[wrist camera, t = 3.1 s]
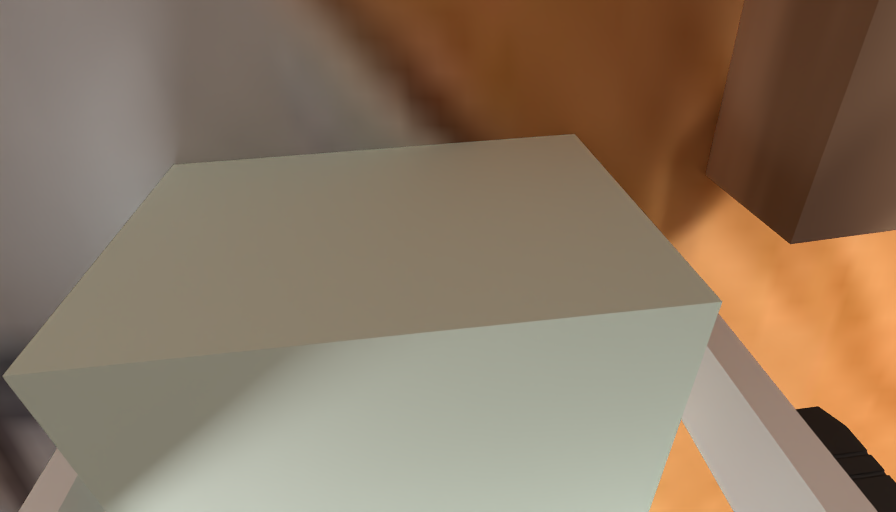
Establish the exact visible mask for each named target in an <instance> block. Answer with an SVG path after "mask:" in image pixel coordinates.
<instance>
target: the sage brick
mask: <svg viewBox="0 0 896 512" xmlns="http://www.w3.org/2000/svg"><path fill="white" fill-rule="evenodd" d="M721 304H722V301H721V300H720V299H719V297H718V296H717V295H716V294H715V293H714V292H713V291H712V290H711V288H710V287H709V286H708V285H707V284H706V283H705V282H704V280H703V279H702V278H701V277H700V276H699V275H698V274H697V272H696V271H695V270H694V269H693V268H692V267H691V266H690V265H689V263H688V262H687V261H686V260H685V259H684V258H683V257H682V255H681V254H680V253H679V252H678V251H677V250H676V249H675V247H674V246H673V245H672V244H671V243H670V242H669V241H668V239H667V238H666V237H665V236H664V235H663V234H662V233H661V232H660V230H659V229H658V228H657V227H656V226H655V225H654V224H653V222H652V221H651V220H650V219H649V218H648V217H647V216H646V214H645V213H644V212H643V211H642V210H641V209H640V208H639V207H638V205H637V204H636V203H635V202H634V201H633V200H632V199H631V197H630V196H629V195H628V194H627V193H626V192H625V191H624V189H623V188H622V187H621V186H620V185H619V184H618V183H617V182H616V180H615V179H614V178H613V177H612V176H611V175H610V174H609V172H608V171H607V170H606V169H605V168H604V167H603V166H602V164H601V163H600V162H599V161H598V160H597V159H596V158H595V157H594V155H593V154H592V153H591V152H590V151H589V150H588V149H587V147H586V146H585V145H584V144H583V143H582V142H581V141H580V139H579V138H578V137H577V136H576V135H575V134H565V135H552V136H539V137H526V138H513V139H500V140H487V141H474V142H461V143H448V144H435V145H421V146H408V147H395V148H382V149H369V150H356V151H343V152H330V153H317V154H304V155H291V156H278V157H265V158H252V159H239V160H225V161H212V162H199V163H186V164H173V166H172V167H171V168H170V169H169V171H168V172H167V173H166V174H165V175H164V177H163V178H162V179H161V180H160V182H159V183H158V184H157V185H156V187H155V188H154V189H153V190H152V192H151V193H150V194H149V195H148V196H147V198H146V199H145V200H144V201H143V203H142V204H141V205H140V206H139V208H138V209H137V210H136V211H135V213H134V214H133V215H132V216H131V218H130V219H129V220H128V221H127V222H126V224H125V225H124V226H123V227H122V229H121V230H120V231H119V232H118V234H117V235H116V236H115V237H114V239H113V240H112V241H111V242H110V243H109V245H108V246H107V247H106V248H105V250H104V251H103V252H102V253H101V255H100V256H99V257H98V258H97V260H96V261H95V262H94V263H93V264H92V266H91V267H90V268H89V269H88V271H87V272H86V273H85V274H84V276H83V277H82V278H81V279H80V281H79V282H78V283H77V284H76V286H75V287H74V288H73V289H72V290H71V292H70V293H69V294H68V295H67V297H66V298H65V299H64V300H63V302H62V303H61V304H60V305H59V307H58V308H57V309H56V310H55V311H54V313H53V314H52V315H51V316H50V318H49V319H48V320H47V321H46V323H45V324H44V325H43V326H42V328H41V329H40V330H39V331H38V333H37V334H36V335H35V336H34V337H33V339H32V340H31V341H30V342H29V344H28V345H27V346H26V347H25V349H24V350H23V351H22V352H21V354H20V355H19V356H18V357H17V358H16V360H15V361H14V362H13V363H12V365H11V366H10V367H9V368H8V370H7V371H6V372H5V373H4V375H3V376H2V377H3V378H4V379H5V381H6V382H7V383H8V385H9V386H10V387H11V389H12V390H13V391H14V392H15V394H16V395H17V396H18V398H19V399H20V400H21V402H22V403H23V404H24V405H25V407H26V408H27V409H28V411H29V412H30V413H31V415H32V416H33V417H34V418H35V420H36V421H37V422H38V424H39V425H40V426H41V428H42V429H43V430H44V431H45V433H46V434H47V435H48V437H49V438H50V439H51V441H52V442H53V443H54V444H55V446H56V447H57V448H58V450H59V451H60V452H61V454H62V455H63V456H64V457H65V459H66V460H67V461H68V463H69V464H70V465H71V467H72V468H73V469H74V470H75V472H76V473H77V474H78V476H79V477H80V478H81V480H82V481H83V482H84V483H85V485H86V486H87V487H88V489H89V490H90V491H91V493H92V494H93V495H94V497H95V498H96V499H97V500H98V502H99V503H100V504H101V506H102V507H103V508H104V510H105V511H106V512H649V510H650V507H651V504H652V501H653V498H654V495H655V493H656V490H657V487H658V484H659V481H660V478H661V475H662V473H663V470H664V467H665V464H666V461H667V458H668V455H669V453H670V450H671V447H672V444H673V441H674V438H675V435H676V433H677V430H678V427H679V424H680V421H681V418H682V415H683V413H684V410H685V407H686V404H687V401H688V398H689V395H690V393H691V390H692V387H693V384H694V381H695V378H696V375H697V372H698V370H699V367H700V364H701V361H702V358H703V355H704V352H705V350H706V347H707V344H708V341H709V338H710V335H711V332H712V330H713V327H714V324H715V321H716V318H717V315H718V312H719V310H720V307H721Z"/></svg>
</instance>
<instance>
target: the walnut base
mask: <svg viewBox="0 0 896 512" xmlns="http://www.w3.org/2000/svg"><path fill="white" fill-rule="evenodd" d="M705 175H706V176H707V177H708V178H710V179H711V180H712V181H713V182H714V183H716V184H717V185H718V186H719V187H721V188H722V189H723V190H724V191H726V192H727V193H728V194H729V195H730V196H732V197H733V198H734V199H735V200H737V201H738V202H739V203H740V204H742V205H743V206H744V207H745V208H746V209H748V210H749V211H750V212H751V213H753V214H754V215H755V216H756V217H758V218H759V219H760V220H761V221H763V222H764V223H765V224H766V225H767V226H769V227H770V228H771V229H772V230H774V231H775V232H776V233H777V234H779V235H780V236H781V237H782V238H783V239H785V240H786V241H787V242H788V243H790V244H795V243H802V242H810V241H817V240H825V239H832V238H839V237H847V236H854V235H862V234H869V233H876V232H884V231H891V230H896V0H745V1H744V5H743V9H742V14H741V18H740V23H739V27H738V32H737V36H736V40H735V45H734V49H733V54H732V58H731V63H730V67H729V71H728V76H727V80H726V85H725V89H724V94H723V98H722V102H721V107H720V111H719V116H718V120H717V125H716V129H715V133H714V138H713V142H712V147H711V151H710V156H709V160H708V164H707V169H706V173H705Z"/></svg>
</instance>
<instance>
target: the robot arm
mask: <svg viewBox="0 0 896 512" xmlns="http://www.w3.org/2000/svg"><path fill="white" fill-rule="evenodd" d="M681 419H682V421H683V423H684V425H685V427H686V428H687V430H688V432H689V434H690V435H691V437H692V439H693V441H694V442H695V444H696V446H697V448H698V449H699V451H700V453H701V455H702V457H703V458H704V460H705V462H706V464H707V465H708V467H709V469H710V471H711V472H712V474H713V476H714V478H715V479H716V481H717V483H718V485H719V486H720V488H721V490H722V492H723V494H724V495H725V497H726V499H727V501H728V502H729V504H730V506H731V508H732V509H733V511H734V512H896V483H895V482H894V480H893V479H892V478H891V477H890V476H889V475H886V474H885V472H884V469H883V468H882V467H881V466H880V464H879V463H878V462H877V461H876V460H875V459H874V458H873V456H872V455H869V454H868V453H867V449H866V448H865V447H864V446H863V445H862V444H861V443H860V441H859V440H858V439H857V438H856V437H855V436H854V435H853V433H852V432H851V431H850V430H849V429H848V428H847V427H846V426H845V425H844V424H842V423H841V422H840V421H838V420H837V419H835V418H834V417H832V416H831V415H830V414H828V413H827V412H825V411H824V410H823V409H821V408H820V407H810V408H803V409H795V408H794V407H793V406H792V405H791V403H790V402H789V401H788V400H787V398H786V397H785V396H784V395H783V393H782V392H781V391H780V390H779V388H778V387H777V386H776V385H775V383H774V382H773V381H772V380H771V378H770V377H769V376H768V375H767V373H766V372H765V371H764V370H763V368H762V367H761V366H760V365H759V363H758V362H757V361H756V360H755V358H754V357H753V356H752V355H751V353H750V352H749V351H748V350H747V348H746V347H745V346H744V345H743V344H742V342H741V341H740V340H739V339H738V337H737V336H736V335H735V334H734V332H733V331H732V330H731V329H730V327H729V326H728V325H727V324H726V322H725V321H724V320H723V319H722V317H721V316H720V315H719V314H718V315H717V318H716V321H715V324H714V327H713V330H712V332H711V335H710V338H709V341H708V344H707V347H706V350H705V352H704V355H703V358H702V361H701V364H700V367H699V370H698V372H697V375H696V378H695V381H694V384H693V387H692V390H691V393H690V395H689V398H688V401H687V404H686V407H685V410H684V413H683V415H682V418H681ZM19 512H106V511H105V510H104V508H103V507H102V506H101V504H100V503H99V502H98V500H97V499H96V498H95V497H94V495H93V494H92V493H91V491H90V490H89V489H88V487H87V486H86V485H85V483H84V482H83V481H82V480H81V478H80V477H79V476H78V474H77V473H76V472H75V470H74V469H73V468H72V467H71V465H70V464H69V463H68V461H67V460H66V459H65V457H64V456H63V455H62V454H61V452H60V451H59V450H58V448H57V449H56V451H55V452H54V454H53V455H52V457H51V459H50V460H49V462H48V464H47V465H46V467H45V469H44V470H43V472H42V474H41V475H40V477H39V479H38V480H37V482H36V484H35V485H34V487H33V488H32V490H31V492H30V493H29V495H28V497H27V498H26V500H25V502H24V503H23V505H22V507H21V508H20V510H19Z"/></svg>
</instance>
